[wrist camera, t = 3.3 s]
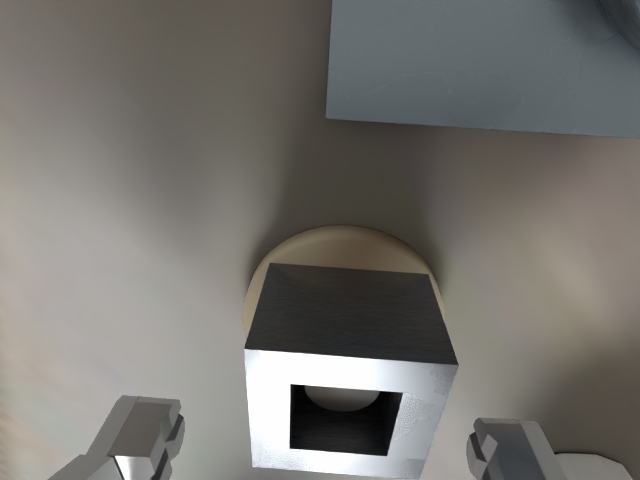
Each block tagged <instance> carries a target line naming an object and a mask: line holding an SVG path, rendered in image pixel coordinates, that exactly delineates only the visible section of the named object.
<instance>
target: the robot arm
mask: <svg viewBox="0 0 640 480" xmlns="http://www.w3.org/2000/svg"><path fill="white" fill-rule="evenodd" d="M180 409H181V404H180V401H179V399H166V398H152V397H142V396H126V395H122V396H121V397H120V398H119V399H118V400H117V401H116V403H115V405H114V407H113V408H112V410H111V412H110V413H109V415H108V417H107V419H106V420H105V422H104V424H103V426H102V427H101V429H100V431H99V432H98V434H97V436H96V438H95V439H94V441H93V443H92V445H91V446H90V448H89V450H88V451H87V453H86V455H79V456H77V457H76V458H75V459H74V460H72V461H71V462H70V463H68V464H67V465H66V466H64V467H63V468H62V469H61V470H59V471H58V472H57V473H55V474H54V475H53V476H51V477H50V478H49V479H48V480H169V479H170V476H171V473H172V467H171V463H170V461H171V460H172V459H173V458H174V457H175V456H176V455H177V454H179V451H180V448H181V445H182V442H183V437H184V432H185V422H184V417H183V416H181V415H180V414H179V412H180ZM473 426H474V429H475V432H474V433H472V434H471V435H469V438H468V441H467V449H466V454H467V460H468V465H469V468H470V472H471V473H472V474H473V475H474V476H475V478H476V479H477V480H567V478H566V476H565V474H564V472H563V470H562V468H561V466H560V464H559V462H558V460H557V458H556V456H555V454H554V452H553V450H552V448H551V446H550V444H549V442H548V440H547V438H546V436H545V435H544V433H543V431H542V429H541V427H540V425H539V424H538V423H537V422H535V421H526V420H514V419H495V418H478V419H476V421H475V423H474V425H473Z"/></svg>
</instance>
